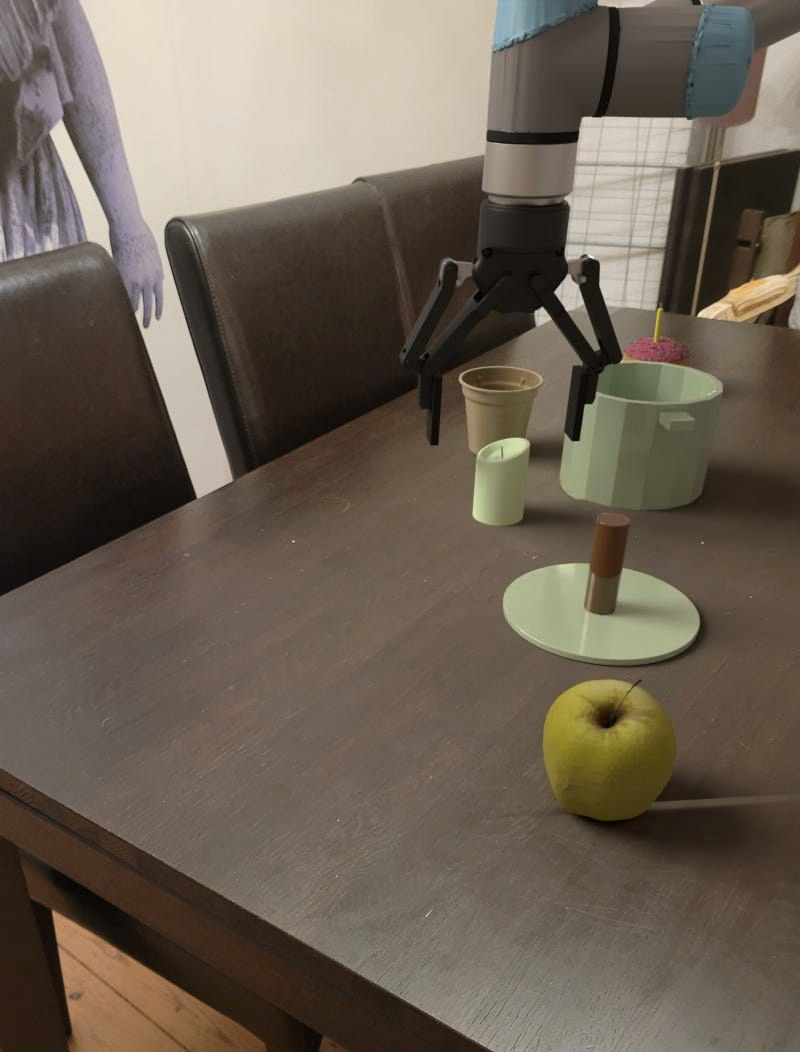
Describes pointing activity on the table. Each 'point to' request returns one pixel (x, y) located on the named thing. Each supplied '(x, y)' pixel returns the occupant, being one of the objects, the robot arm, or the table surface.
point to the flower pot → (498, 403)
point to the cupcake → (657, 348)
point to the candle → (501, 482)
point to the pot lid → (602, 606)
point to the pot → (644, 437)
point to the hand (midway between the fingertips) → (502, 439)
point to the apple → (608, 749)
